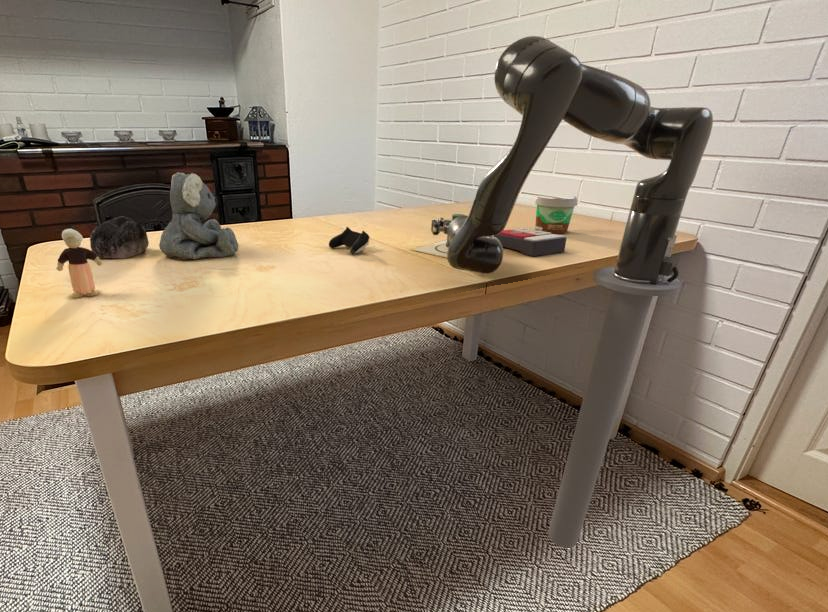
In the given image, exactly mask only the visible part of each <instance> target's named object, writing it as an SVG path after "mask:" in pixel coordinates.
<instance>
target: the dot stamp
mask: <svg viewBox="0 0 828 612" xmlns="http://www.w3.org/2000/svg"><path fill="white" fill-rule="evenodd" d="M464 215H465V214H461V213H454V214H452V215H451V220H454V219H455V218H457V217H459V216H464ZM446 240H447V242H446V247H448V248H449V245H450V242H449V239H448V236H446Z"/></svg>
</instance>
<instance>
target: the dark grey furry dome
mask: <svg viewBox="0 0 828 612" xmlns="http://www.w3.org/2000/svg"><path fill="white" fill-rule="evenodd" d="M89 237H90V238H89V242H90V243H89V244H90V246H89V247H90V250H91V251H93V252H94V253H96V254H97V256H98V257H99V259H127V258H131V257H134V256H137V255H139V254H141V253H143V252H145V251H146V250H147V249H148V247H149V244H150V242H149V241H150V240H149V238H148V233H147V230H146V228H145V226H144V225H143V224H141V223H137V222H136V221H134V220H133V219H131V218H129V217H127V216H125V215H119V216H117V217H114V218H111V219H109V220H106V221H104V222H102V223H101V224H99V225H98V226H96V227H95V228H94V229H93V230H92V231H91V233H90V234H89Z"/></svg>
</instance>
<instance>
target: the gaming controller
mask: <svg viewBox="0 0 828 612" xmlns="http://www.w3.org/2000/svg"><path fill="white" fill-rule="evenodd" d="M370 240H371V237H370V235H369V233H367V232H366V231H365V230H362V231H361V232H358V231H354V230H352V229H351V228H350V227H348V226H345V229H344V230H343V231H342V232H341V233H339V234H338V235H337V234H336V235H335V236H334V237H332V238H331V239H330V240H329V242H328V247H329V248H330V249H334V248H339V247H342V246H344V247H346V248H350V254H352V255H356V254H359V253H360V252H362V251H363V250H364V249H365V248H366V247H368V246H369V245H370Z"/></svg>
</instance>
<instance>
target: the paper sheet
mask: <svg viewBox="0 0 828 612" xmlns="http://www.w3.org/2000/svg"><path fill="white" fill-rule="evenodd" d="M446 242H447V239H444V240H440V241H437V242H434V243H430V244H426V245H423V246H419V247H415V248H412V251H415V252H418V253H424V254H428V255H432V256H435V257H440V258H445V259H447V251H448V247H446Z"/></svg>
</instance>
